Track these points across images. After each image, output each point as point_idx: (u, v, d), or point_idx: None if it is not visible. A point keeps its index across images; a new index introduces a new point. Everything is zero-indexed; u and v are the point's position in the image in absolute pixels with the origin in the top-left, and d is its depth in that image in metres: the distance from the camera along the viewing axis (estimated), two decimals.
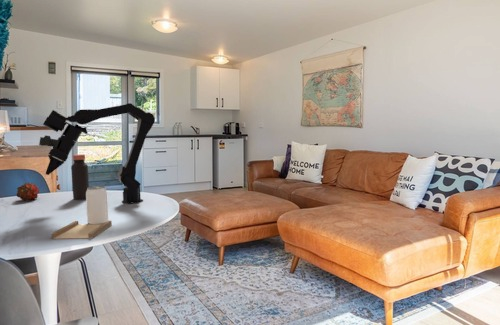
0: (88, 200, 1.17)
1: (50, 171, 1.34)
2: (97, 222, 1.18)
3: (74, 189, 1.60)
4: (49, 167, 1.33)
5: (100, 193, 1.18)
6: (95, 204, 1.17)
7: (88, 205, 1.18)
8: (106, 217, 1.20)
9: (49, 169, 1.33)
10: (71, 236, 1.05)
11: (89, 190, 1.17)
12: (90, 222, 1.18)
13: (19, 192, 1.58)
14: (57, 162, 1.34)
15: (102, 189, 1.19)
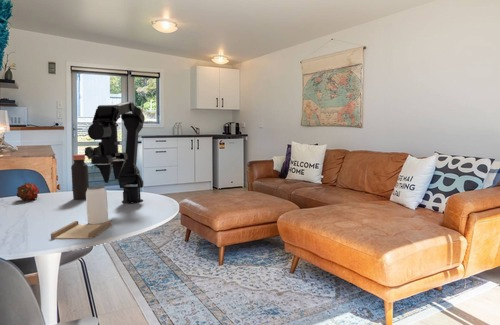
0: (88, 200, 1.17)
1: (106, 178, 1.29)
2: (97, 222, 1.18)
3: (74, 189, 1.60)
4: (103, 175, 1.29)
5: (100, 193, 1.18)
6: (95, 204, 1.17)
7: (88, 205, 1.18)
8: (106, 217, 1.20)
9: (104, 177, 1.29)
10: (71, 236, 1.05)
11: (89, 190, 1.17)
12: (90, 222, 1.18)
13: (19, 192, 1.58)
14: (106, 167, 1.28)
15: (102, 189, 1.19)
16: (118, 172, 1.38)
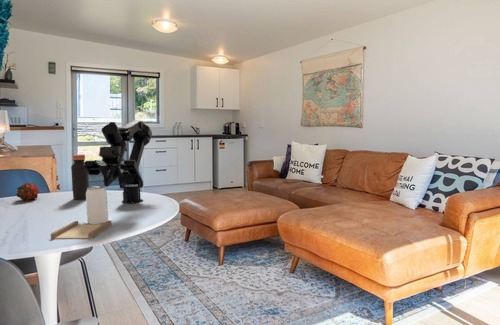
0: (88, 200, 1.17)
1: (110, 183, 1.29)
2: (97, 222, 1.18)
3: (74, 189, 1.60)
4: (110, 179, 1.29)
5: (100, 193, 1.18)
6: (95, 204, 1.17)
7: (88, 205, 1.18)
8: (106, 217, 1.20)
9: (110, 180, 1.29)
10: (71, 236, 1.05)
11: (89, 190, 1.17)
12: (90, 222, 1.18)
13: (19, 192, 1.58)
14: (115, 174, 1.32)
15: (102, 189, 1.19)
16: None
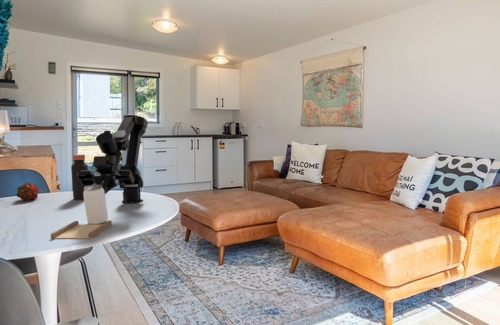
0: (86, 201, 1.16)
1: None
2: (97, 222, 1.18)
3: (74, 189, 1.60)
4: (104, 190, 1.24)
5: (97, 194, 1.16)
6: (93, 205, 1.16)
7: (86, 206, 1.17)
8: (106, 216, 1.20)
9: None
10: (71, 236, 1.05)
11: (86, 191, 1.15)
12: (90, 222, 1.18)
13: (19, 192, 1.58)
14: (109, 185, 1.27)
15: (99, 189, 1.17)
16: None
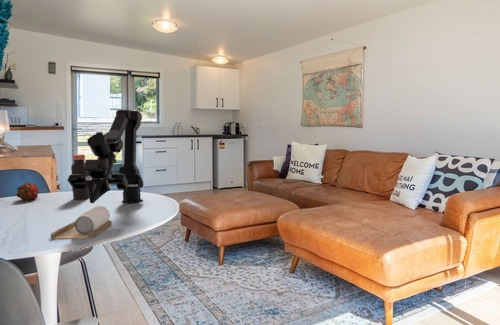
0: None
1: (96, 199, 1.18)
2: None
3: (74, 189, 1.60)
4: (96, 194, 1.18)
5: None
6: None
7: None
8: None
9: (96, 197, 1.18)
10: (71, 236, 1.05)
11: None
12: None
13: (19, 192, 1.58)
14: (102, 189, 1.21)
15: (89, 232, 1.07)
16: None
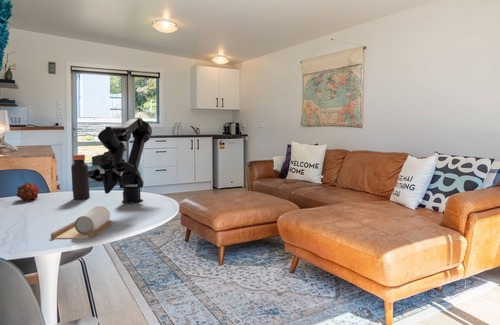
0: None
1: (110, 189, 1.31)
2: None
3: (74, 189, 1.60)
4: (109, 185, 1.30)
5: None
6: None
7: None
8: None
9: (109, 187, 1.30)
10: (71, 236, 1.05)
11: None
12: None
13: (19, 192, 1.58)
14: (115, 179, 1.33)
15: (89, 232, 1.07)
16: None
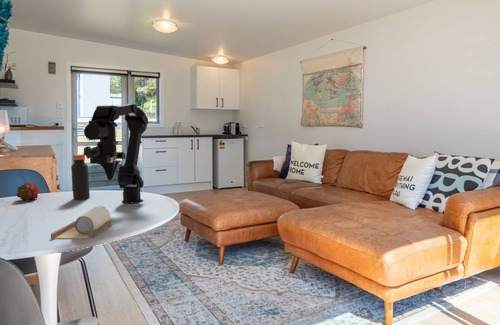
0: None
1: (110, 176, 1.36)
2: None
3: (74, 189, 1.60)
4: (107, 173, 1.35)
5: None
6: None
7: None
8: None
9: (108, 174, 1.35)
10: (71, 236, 1.05)
11: None
12: None
13: (19, 192, 1.58)
14: (110, 165, 1.34)
15: (89, 232, 1.07)
16: None
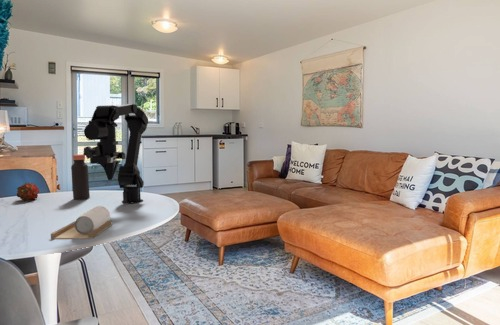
0: None
1: (110, 176, 1.36)
2: None
3: (74, 189, 1.60)
4: (107, 173, 1.35)
5: None
6: None
7: None
8: None
9: (108, 174, 1.35)
10: (71, 236, 1.05)
11: None
12: None
13: (19, 192, 1.58)
14: (110, 165, 1.34)
15: (89, 232, 1.07)
16: None
